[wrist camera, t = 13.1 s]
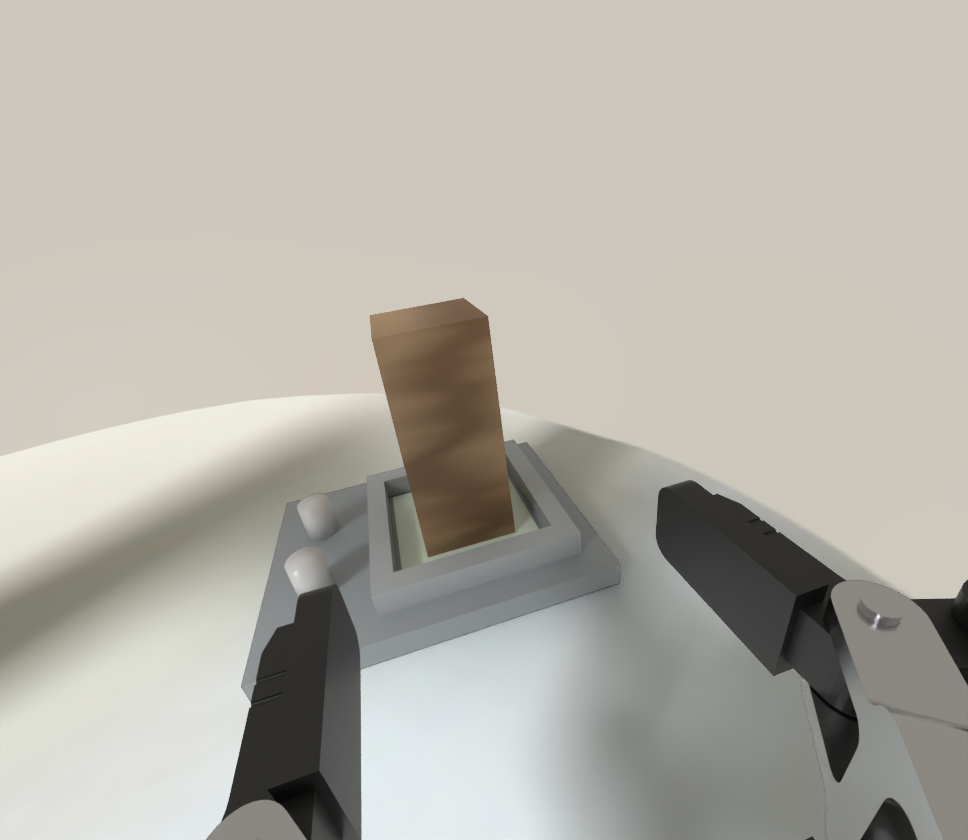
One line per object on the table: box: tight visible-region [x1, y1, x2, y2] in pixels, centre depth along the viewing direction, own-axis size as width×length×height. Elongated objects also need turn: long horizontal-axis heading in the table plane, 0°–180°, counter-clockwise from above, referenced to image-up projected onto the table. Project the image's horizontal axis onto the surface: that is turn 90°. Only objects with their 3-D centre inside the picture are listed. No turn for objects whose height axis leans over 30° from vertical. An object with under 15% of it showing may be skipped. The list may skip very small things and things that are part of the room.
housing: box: [241, 440, 620, 702], centre depth 23 cm, size 16×12×3 cm
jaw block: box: [370, 298, 515, 557], centre depth 21 cm, size 4×4×11 cm
